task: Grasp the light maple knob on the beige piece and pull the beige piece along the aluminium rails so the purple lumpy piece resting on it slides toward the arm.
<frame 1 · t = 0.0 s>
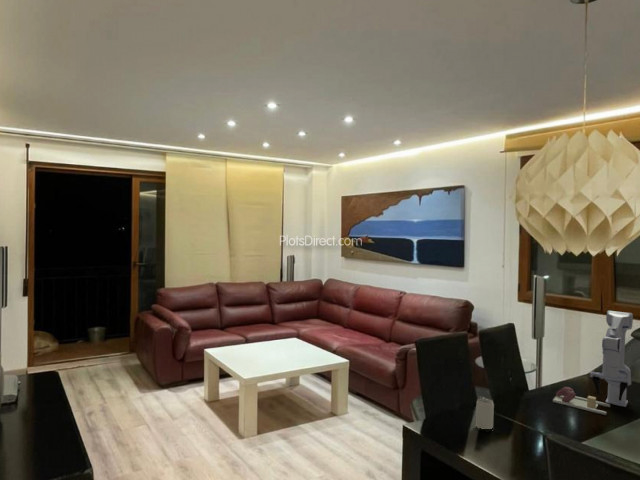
hand: (609, 397, 185), 10 cm above the table, tool pointing down, fingers open, 7 cm apart
aluminium rails: (581, 404, 203), on the table
beige piece: (575, 398, 205), point 2 cm above the table, slide at 0.0 cm, touching purple lumpy piece
purple lumpy piece: (565, 400, 207), resting on beige piece
can: (484, 429, 173), on the table
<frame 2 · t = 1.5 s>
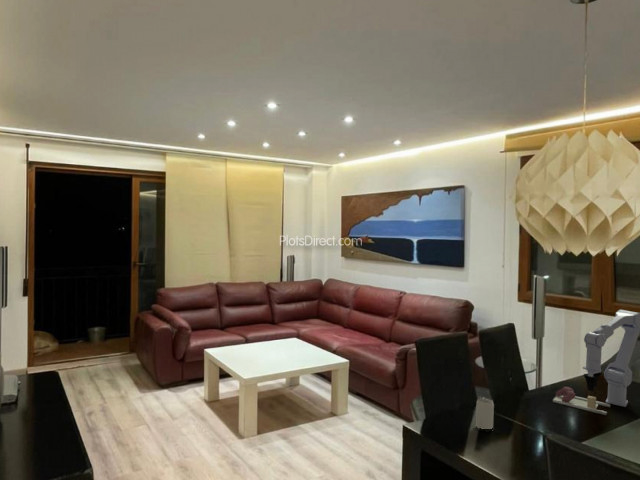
hand: (592, 388, 200), 8 cm above the table, tool pointing down, fingers open, 7 cm apart
nothing on the table moved.
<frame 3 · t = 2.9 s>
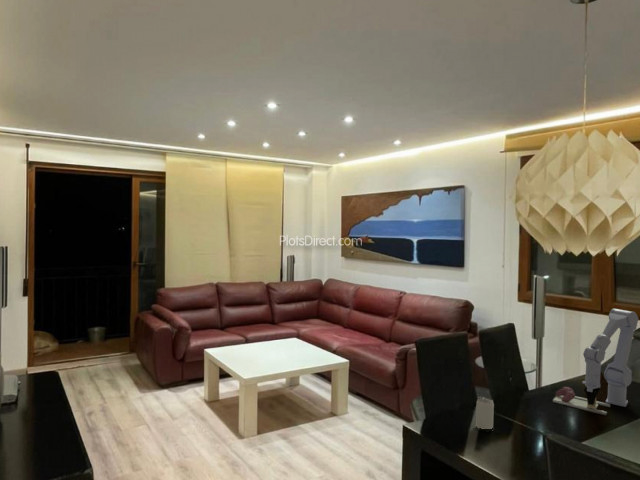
hand: (591, 403, 200), 2 cm above the table, tool pointing down, fingers closed on beige piece, 3 cm apart
beige piece: (575, 398, 205), point 2 cm above the table, slide at 0.0 cm, touching gripper, purple lumpy piece
everything else where it was.
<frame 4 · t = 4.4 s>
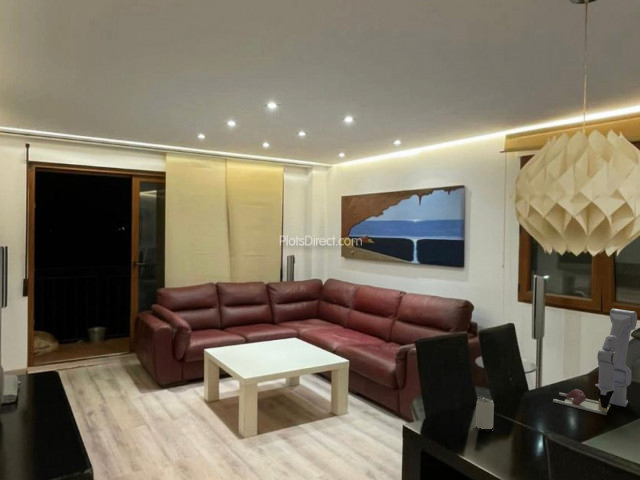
hand: (604, 406, 197), 2 cm above the table, tool pointing down, fingers closed on beige piece, 3 cm apart
beige piece: (586, 400, 202), point 2 cm above the table, slide at 4.4 cm, touching gripper, purple lumpy piece
purple lumpy piece: (575, 402, 204), resting on beige piece
everything else where it was.
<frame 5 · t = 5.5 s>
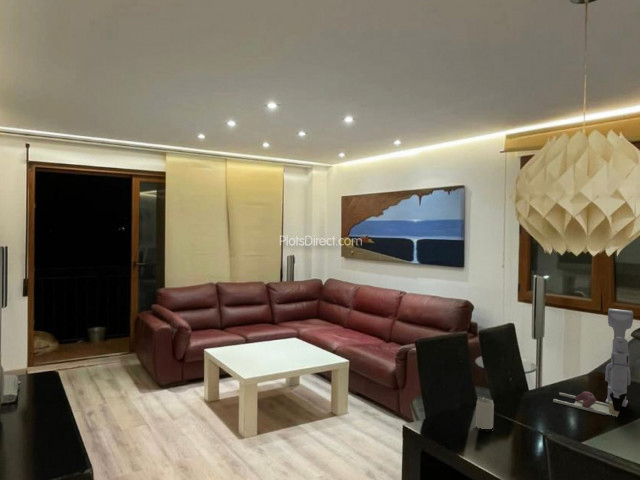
hand: (617, 409, 194), 2 cm above the table, tool pointing down, fingers closed on beige piece, 3 cm apart
beige piece: (596, 403, 199), point 2 cm above the table, slide at 8.4 cm, touching gripper, purple lumpy piece
purple lumpy piece: (585, 405, 202), resting on beige piece
everything else where it was.
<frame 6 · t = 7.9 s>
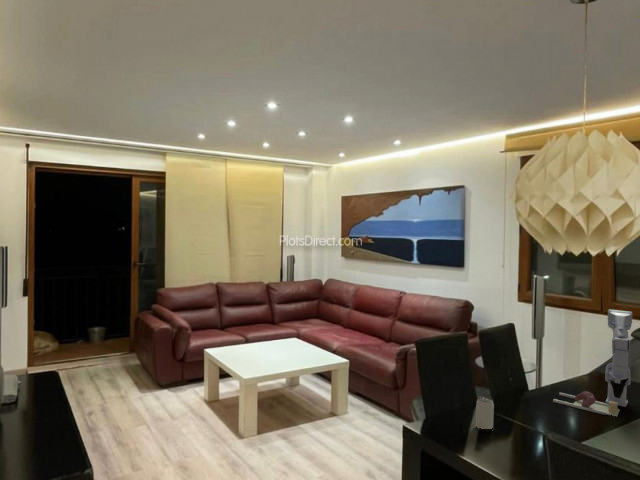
hand: (618, 395, 194), 8 cm above the table, tool pointing down, fingers open, 7 cm apart
beige piece: (596, 403, 199), point 2 cm above the table, slide at 8.3 cm, touching purple lumpy piece
everything else where it was.
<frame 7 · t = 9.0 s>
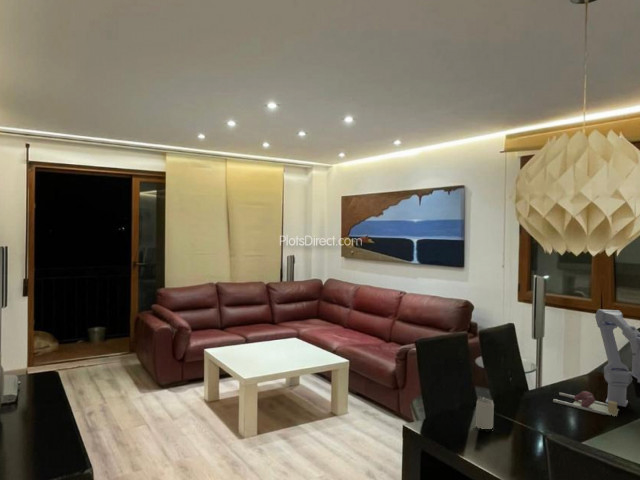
hand: (638, 394, 191), 9 cm above the table, tool pointing down, fingers open, 7 cm apart
nothing on the table moved.
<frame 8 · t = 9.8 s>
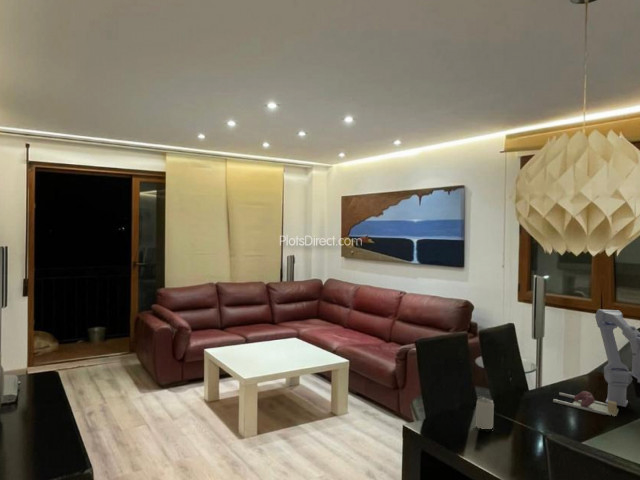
hand: (638, 394, 191), 9 cm above the table, tool pointing down, fingers open, 7 cm apart
nothing on the table moved.
at the end: beige piece slide at 7.9 cm; purple lumpy piece inside the target area (1.5 cm from its centre), resting on beige piece; purple lumpy piece moved 7.5 cm from its start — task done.
